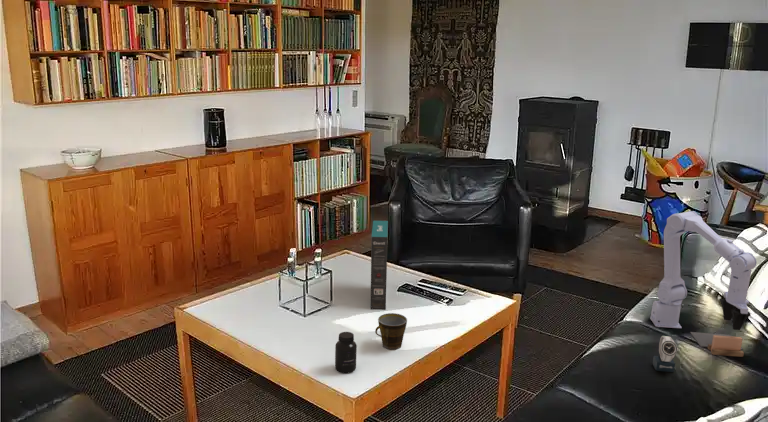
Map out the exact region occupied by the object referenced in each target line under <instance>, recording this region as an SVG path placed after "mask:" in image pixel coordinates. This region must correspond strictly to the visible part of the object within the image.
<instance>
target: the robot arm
mask: <svg viewBox="0 0 768 422" xmlns="http://www.w3.org/2000/svg"><path fill="white" fill-rule="evenodd" d="M686 232H695V233H697V234H698V235H699V236H701V237H702V238H704V239H705V240H706V241H707V242H709V243H710V244H712V245H713V246H714V252H716V253H717V254H718V255H719V256H721V257H722V258H723V259H724V260H725V261H727V262H728V265H729V268H730V278H729V284H728V291H724V294H723V298H720V304H721V307H722V315H723V320H724V321H731V320H732V329H733V330H735V331H740V330H741V329H742V327H743V325H744V322H745V321H747V319H748V318H749V317H750V316H751V312H750V311H749V307H748V304H750V300H748V299H747V296H748V291H749V287H750V286H749V285H750V281H751V276H752V270H753V269H755V267H756V266H757V259H756V257H755V255H754V254H752V253H751V252H747V251H744V249H742V248H740V247H739V246H737V245H736V244H735V243H734V241H733V240H732V239H731V238H730V239H728V238H726V237H725V238H722V237H721V236H720V235H719V234H718V233H716V232H715V231H714V230H713V229H712V227H710V226H709V225H708V224H707V223H706V222H705V221H704V219H703V217H702V216H701V215H699V214H698V213H697V212H696V211H693V210H688V211H684V212H680V213H679V212H678V213H672V214H671V215H670V216H668V217H667V218H666V225H665V227H664V230H663V265H664V266H663V268H664V270H663V271H664V272H663V273H664V275H663V278H662V279H661V281H660V282H659V283H658V290H657V293H656V295H657V298H658V300H653V303H652V305H651V313H650V317H649V318H650V321H652V323H653V325H654V326H655V327H656V328H672V329H682V326H681V324H680V323H679V320H680V314H681V308H682V303H683V300H685V299H686V297H687V296H688V290H687V287H686V283H685V282H686V281H685V280H684V279H683V278H682V277H681V236H682V235H684V233H686ZM736 308H737V309H736Z"/></svg>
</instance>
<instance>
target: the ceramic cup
mask: <svg viewBox="0 0 768 422" xmlns="http://www.w3.org/2000/svg"><path fill="white" fill-rule="evenodd" d="M377 321H378V322H377V323H378V326H377V327H376V328H375V329H374V330H375V331H374V332H375V334H376V335H377V336H378V337H380V338H381V343H382V344H381V345H382V348H383V349H385V350H388V351H390V350H391V351H396V350H398V349H400V348H402V345H403V340H404V336H405V331H406V329H407V328H406V327H407V323H408V318H407V317H406V316H405V315H403V314H400V313H394V312H388V313H383V314H381V315H379V317H378V319H377ZM378 331H380V334H379V333H378Z"/></svg>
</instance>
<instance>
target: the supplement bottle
mask: <svg viewBox="0 0 768 422" xmlns="http://www.w3.org/2000/svg"><path fill="white" fill-rule="evenodd" d="M357 347H358V345H357V343H356V342H355V335H354V333H353V332H351V331H342V332H340V333H338V341H336V343H335V347H334V368H335V370H336V371H337V372H338V373H339V374H345V375H346V374H352V373H353V372H354V371H356V370H357V349H358V348H357Z"/></svg>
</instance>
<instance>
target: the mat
mask: <svg viewBox="0 0 768 422" xmlns="http://www.w3.org/2000/svg"><path fill="white" fill-rule="evenodd" d="M689 334H690V335H691V336H692V338H693V339H694V340H695V342H697V344H698V345H699V346H700V348H708V344H712V340H713V335H718V336H732V335H731V334H723V333H710V332H709V333H708V332H694V331H690V332H689ZM743 350H744V348H743V347H742V346H741V350H740V351H743Z"/></svg>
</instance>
